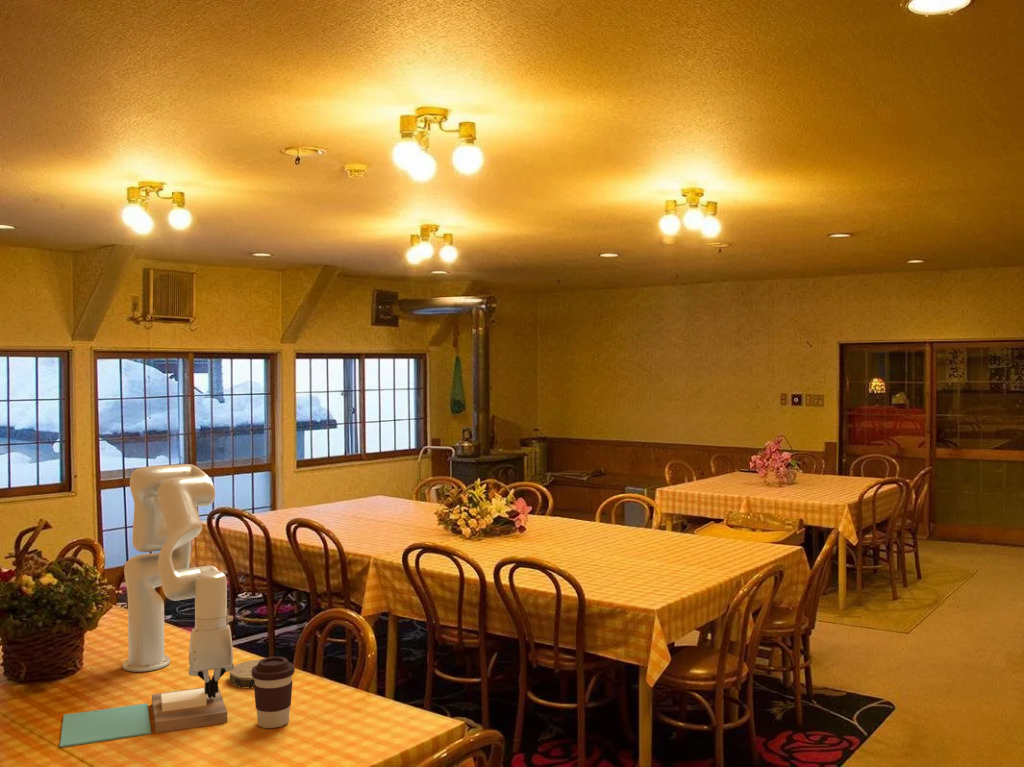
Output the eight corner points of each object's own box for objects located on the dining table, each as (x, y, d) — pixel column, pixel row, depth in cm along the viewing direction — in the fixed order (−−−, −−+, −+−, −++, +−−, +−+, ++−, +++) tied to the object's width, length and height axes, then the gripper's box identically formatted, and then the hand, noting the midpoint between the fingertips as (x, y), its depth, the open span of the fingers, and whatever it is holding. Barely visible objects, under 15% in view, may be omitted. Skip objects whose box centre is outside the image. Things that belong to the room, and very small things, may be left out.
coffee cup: (249, 719, 220) (249, 657, 220) (290, 712, 224) (290, 652, 224) (254, 734, 211) (254, 669, 211) (298, 727, 215) (297, 664, 215)
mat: (63, 716, 222) (63, 714, 222) (147, 704, 230) (147, 703, 230) (59, 747, 204) (59, 745, 204) (151, 733, 211) (151, 732, 211)
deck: (151, 704, 230) (151, 694, 230) (218, 694, 237) (218, 685, 237) (155, 733, 212) (155, 722, 212) (227, 722, 218) (227, 711, 218)
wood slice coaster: (239, 693, 239) (239, 681, 239) (222, 676, 252) (222, 665, 252) (298, 682, 247) (298, 671, 247) (279, 665, 261) (279, 655, 261)
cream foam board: (161, 702, 225) (161, 693, 225) (203, 696, 229) (203, 688, 229) (162, 711, 218) (162, 703, 218) (206, 705, 222) (206, 697, 222)
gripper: (240, 615, 233) (240, 687, 233) (177, 622, 226) (178, 695, 227) (244, 623, 226) (244, 696, 226) (180, 630, 220) (180, 705, 220)
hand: (211, 696), depth 226 cm, fingers closed
